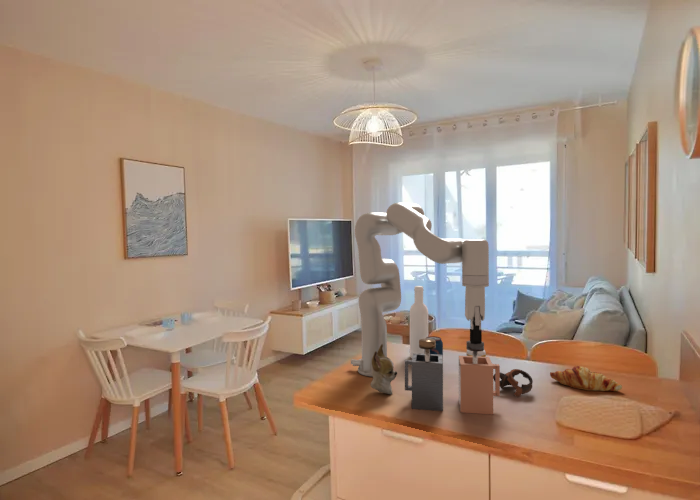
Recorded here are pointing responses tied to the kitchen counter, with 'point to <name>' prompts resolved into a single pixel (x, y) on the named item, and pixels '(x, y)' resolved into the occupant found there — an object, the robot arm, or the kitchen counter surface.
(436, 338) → the soda can
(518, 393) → the brown curved piece
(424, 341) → the plunger bronze
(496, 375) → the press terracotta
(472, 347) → the grey plunger
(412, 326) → the bottle
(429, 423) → the kitchen counter surface
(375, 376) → the ceramic sculpture
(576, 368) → the croissant
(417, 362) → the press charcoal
